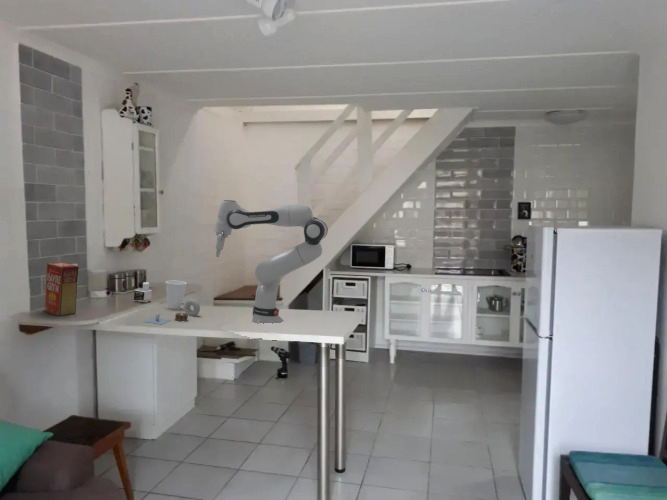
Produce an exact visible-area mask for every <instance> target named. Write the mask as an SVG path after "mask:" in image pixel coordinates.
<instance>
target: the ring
mask: <svg viewBox="0 0 667 500" xmlns="http://www.w3.org/2000/svg"><path fill="white" fill-rule="evenodd" d="M180 314H183V315H180ZM174 317H175V318H174V320H176V321H175V322H181V321H185V320H187V319H189V315H188V314H186V312H178V313H175V316H174ZM187 321H188V320H187ZM185 322H186V321H185Z"/></svg>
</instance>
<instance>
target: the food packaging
mask: <svg viewBox="0 0 667 500" xmlns="http://www.w3.org/2000/svg"><path fill="white" fill-rule="evenodd" d="M79 268H80V267H79V265H74V264H70V263H66V262H64V261H61V262H60V261H59V262H47V263H46V279H45V280H46V281H45V299H44V310H43V311H44V312H47V313H50V314H52V315H55V316H58V317H62V316H69V314H70V315H74V313H75V314H76V313H77V312H76V311H77V295H78V293H77V292H78V280H79Z"/></svg>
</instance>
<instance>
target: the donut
mask: <svg viewBox="0 0 667 500" xmlns="http://www.w3.org/2000/svg"><path fill="white" fill-rule="evenodd" d="M191 306H192V307H193V310H192V309H191ZM183 310H184V313H186V314H188V316H192V317H196V316H198V315H199V313H200V310H201V306H200V303H199V302H198V300H196V299H193V298H189V299H188V300H186V301H185V302H184V306H183ZM195 315H196V316H195Z"/></svg>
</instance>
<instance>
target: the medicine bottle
mask: <svg viewBox="0 0 667 500" xmlns="http://www.w3.org/2000/svg"><path fill="white" fill-rule="evenodd" d="M152 292H153V290H152V289H150V282H148V281H139V282H138V285H137V289H134V291H133V293H134V294H133V301H134V300H146V299H150V298H151V299H152V295H153V294H152Z"/></svg>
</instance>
